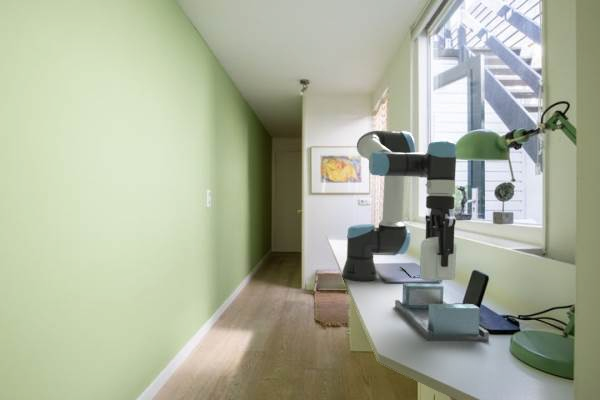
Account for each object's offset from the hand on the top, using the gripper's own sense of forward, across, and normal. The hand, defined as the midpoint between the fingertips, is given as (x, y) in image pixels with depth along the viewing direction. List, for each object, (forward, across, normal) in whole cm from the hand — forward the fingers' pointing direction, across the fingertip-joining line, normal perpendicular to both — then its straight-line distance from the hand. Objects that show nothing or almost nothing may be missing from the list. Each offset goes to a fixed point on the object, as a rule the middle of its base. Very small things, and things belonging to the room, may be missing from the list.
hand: (437, 275), depth 93 cm
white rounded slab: (+1, 0, 0) cm, 1 cm away
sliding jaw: (+13, -10, 0) cm, 16 cm away
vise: (+14, 0, 0) cm, 14 cm away
